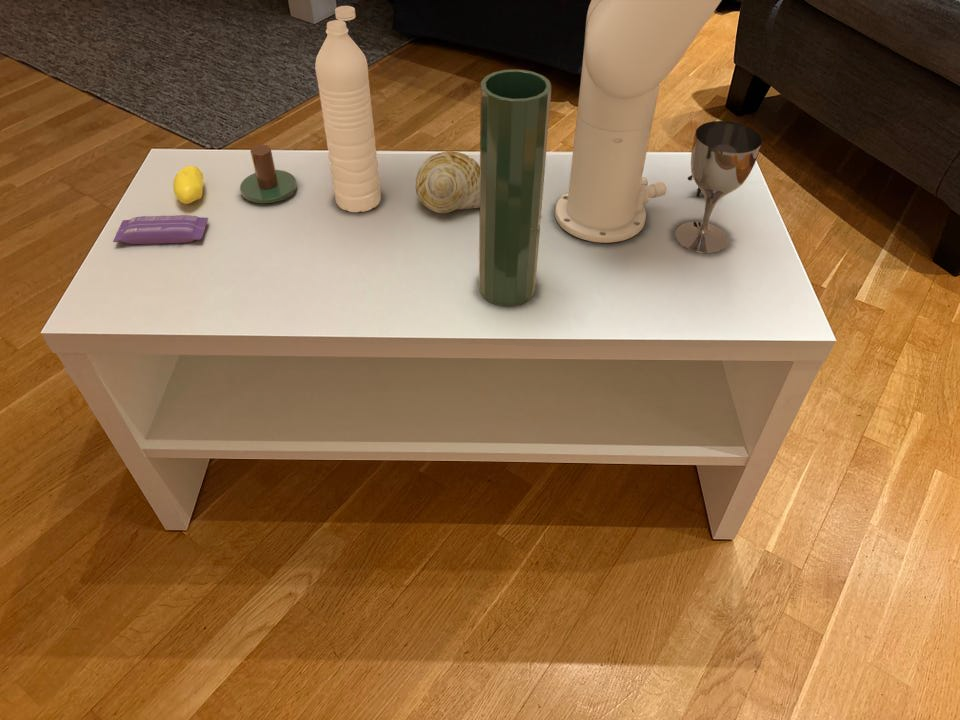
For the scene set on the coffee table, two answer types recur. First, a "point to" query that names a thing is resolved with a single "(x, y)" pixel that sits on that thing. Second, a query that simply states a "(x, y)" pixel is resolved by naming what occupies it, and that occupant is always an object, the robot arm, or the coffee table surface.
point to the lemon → (188, 184)
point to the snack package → (161, 229)
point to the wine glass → (717, 176)
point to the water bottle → (348, 117)
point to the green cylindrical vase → (511, 182)
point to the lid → (266, 179)
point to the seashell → (449, 182)
